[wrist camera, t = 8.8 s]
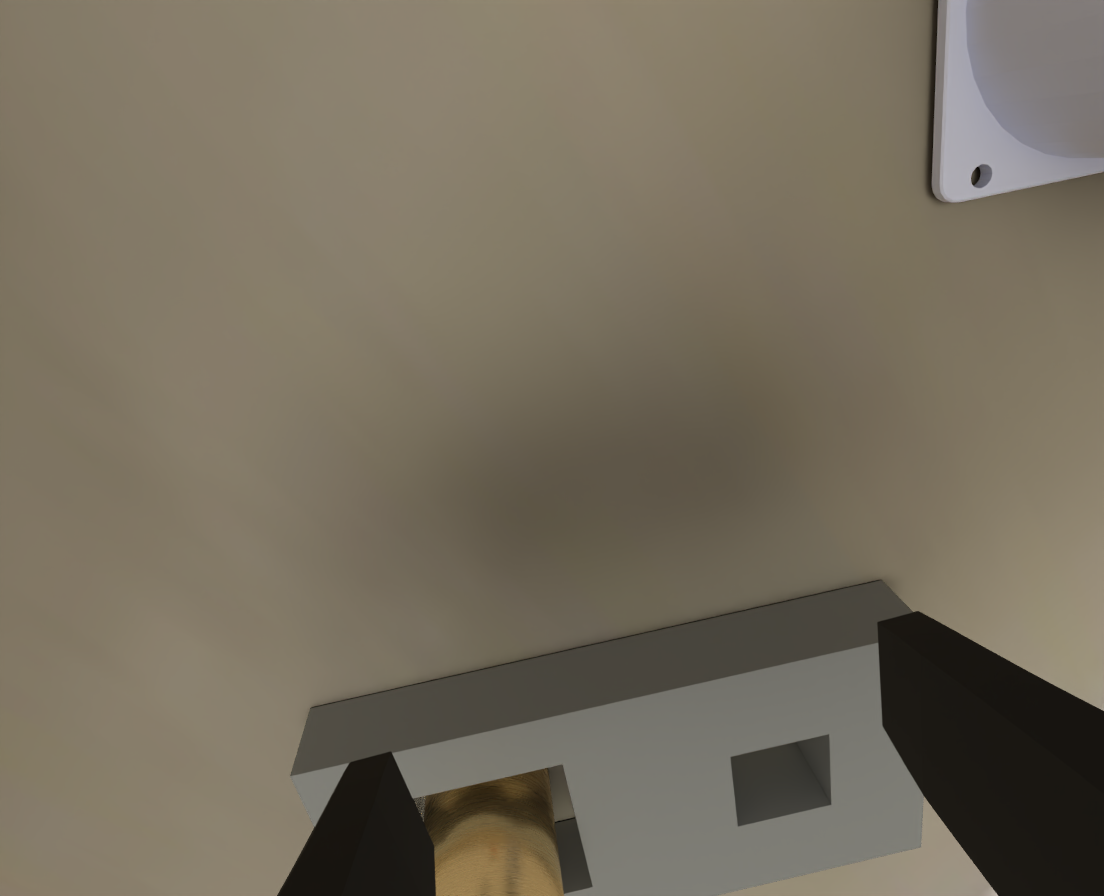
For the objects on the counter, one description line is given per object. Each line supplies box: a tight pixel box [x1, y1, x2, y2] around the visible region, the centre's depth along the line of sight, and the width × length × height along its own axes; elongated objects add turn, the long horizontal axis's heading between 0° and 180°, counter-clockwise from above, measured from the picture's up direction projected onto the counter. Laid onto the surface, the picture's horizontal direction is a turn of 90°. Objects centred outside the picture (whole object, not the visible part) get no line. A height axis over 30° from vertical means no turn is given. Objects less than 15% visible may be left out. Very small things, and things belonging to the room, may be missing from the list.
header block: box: [290, 580, 924, 896], centre depth 21 cm, size 18×9×2 cm, turn 101°
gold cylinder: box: [424, 768, 564, 896], centre depth 20 cm, size 4×4×6 cm
